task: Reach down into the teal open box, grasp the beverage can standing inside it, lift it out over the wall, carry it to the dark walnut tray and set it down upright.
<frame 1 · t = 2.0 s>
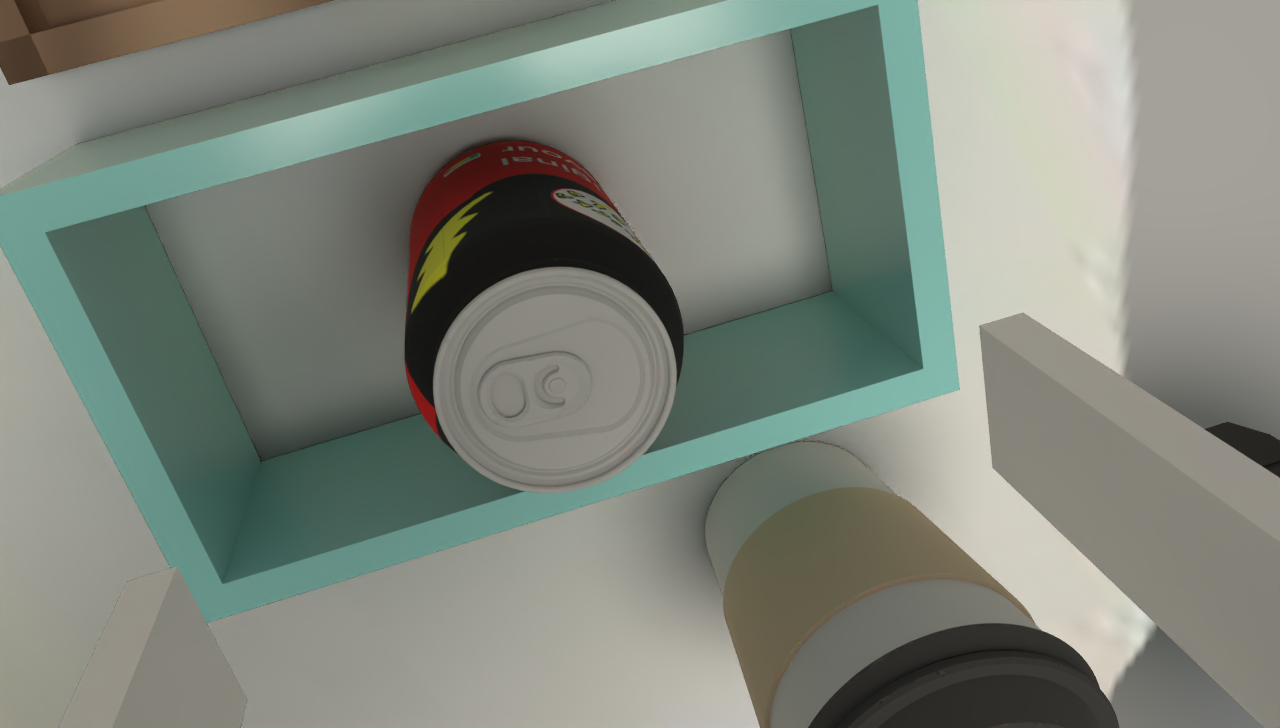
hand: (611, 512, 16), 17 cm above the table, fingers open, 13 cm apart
beverage can: (511, 233, 32), resting in teal open box
coffee cup: (791, 518, 38), on the table
teal open box: (512, 235, 32), on the table
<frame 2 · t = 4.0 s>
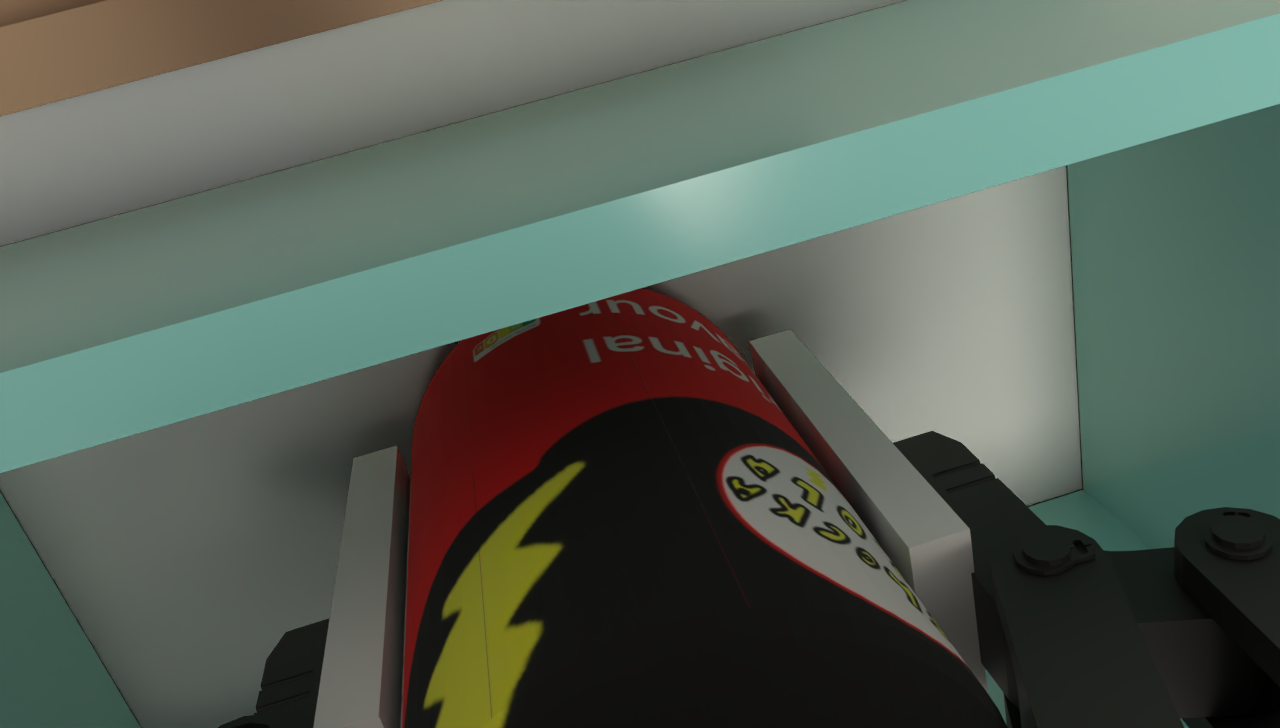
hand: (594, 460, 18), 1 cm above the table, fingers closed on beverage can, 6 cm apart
beverage can: (582, 419, 19), resting in teal open box, touching gripper
teal open box: (584, 425, 19), on the table
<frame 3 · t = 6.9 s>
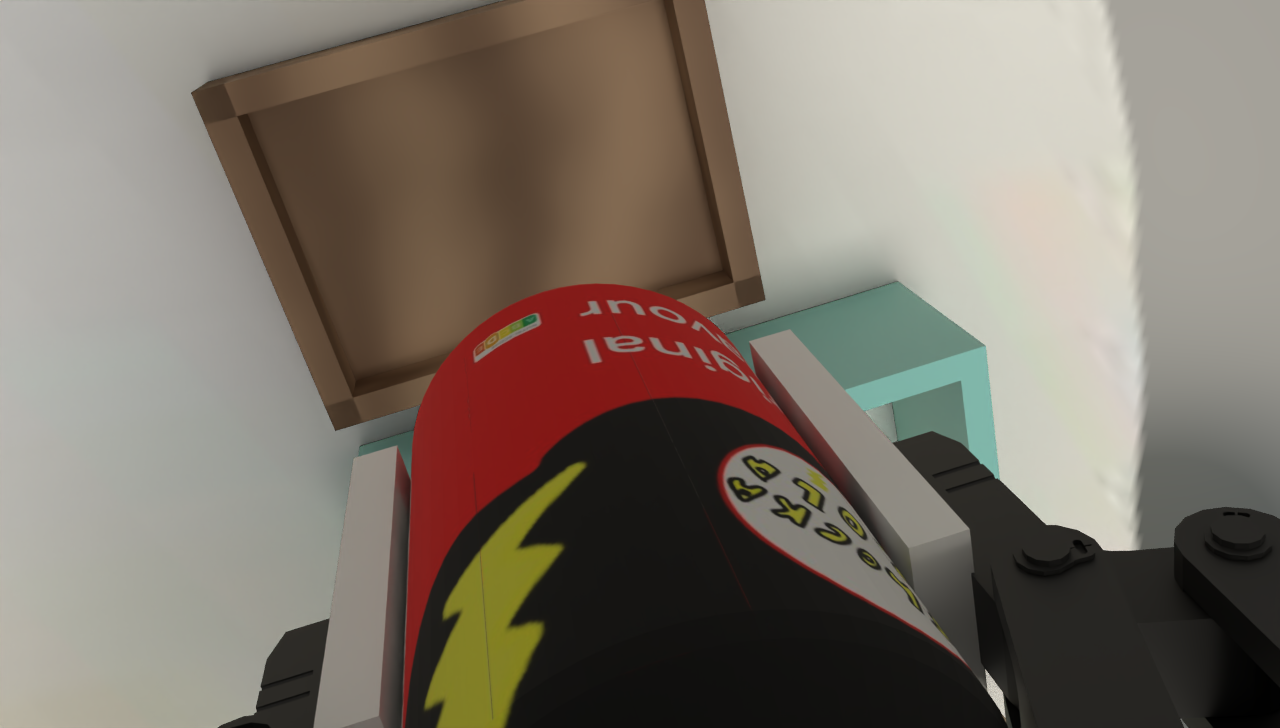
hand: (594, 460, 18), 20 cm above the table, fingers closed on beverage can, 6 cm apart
tray: (500, 188, 36), on the table
beverage can: (582, 419, 19), point 19 cm above the table, touching gripper
teal open box: (669, 489, 42), on the table
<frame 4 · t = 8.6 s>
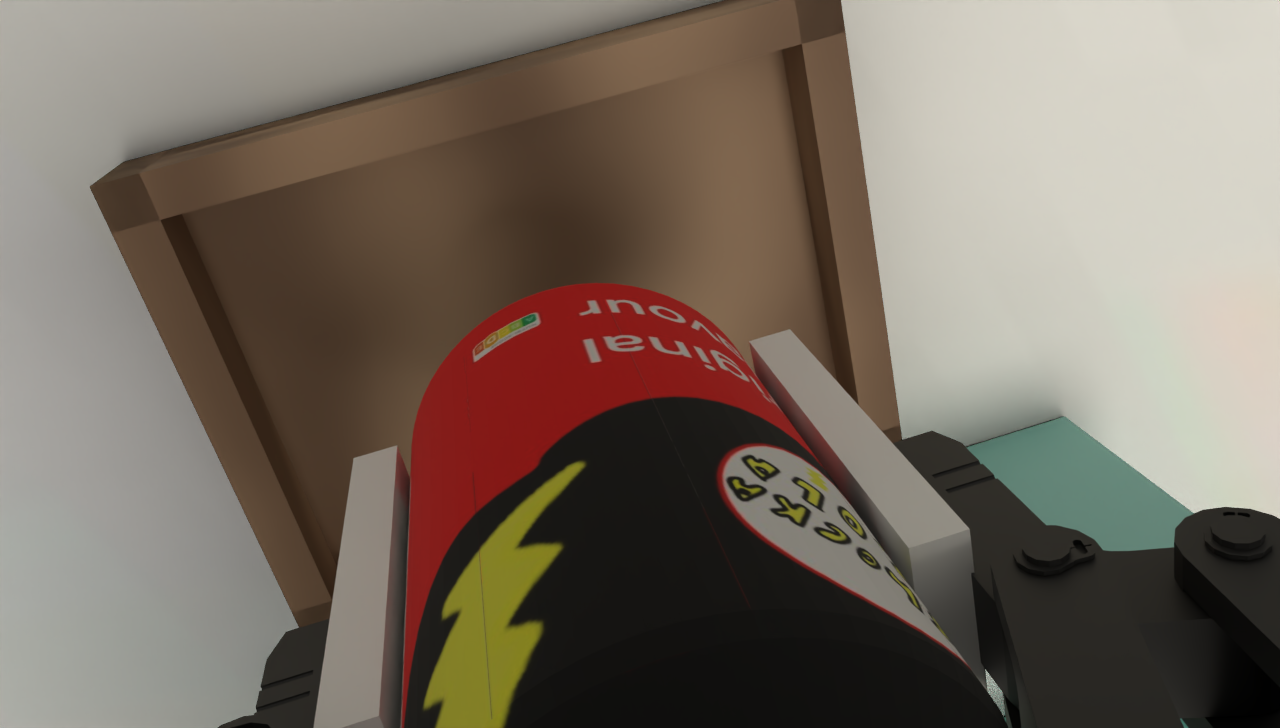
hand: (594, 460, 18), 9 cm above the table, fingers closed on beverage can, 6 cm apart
tray: (540, 305, 26), on the table
beverage can: (582, 419, 19), point 7 cm above the table, touching gripper
teal open box: (751, 681, 32), on the table
when the fingers open (4 cm above the table, at t = 9.8 s): beverage can drops 1 cm, resting on tray.
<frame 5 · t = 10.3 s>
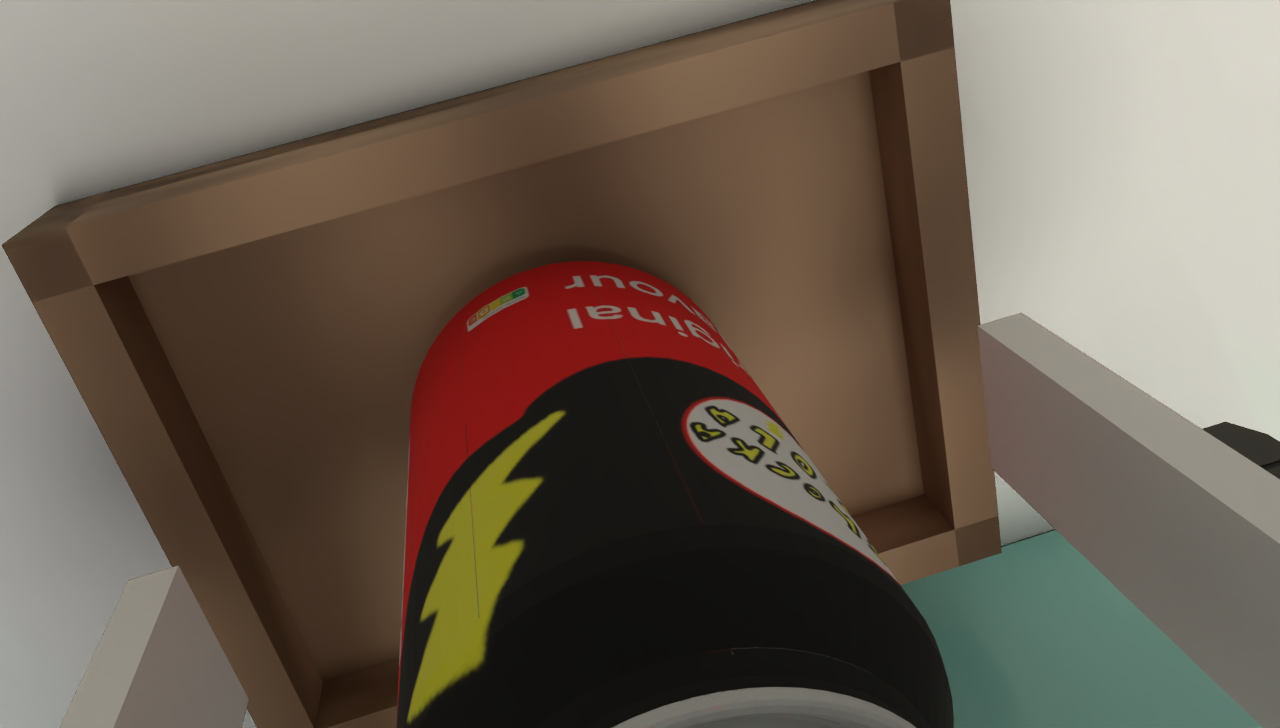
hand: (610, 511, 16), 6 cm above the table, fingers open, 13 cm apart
tray: (567, 372, 21), on the table
beverage can: (570, 390, 21), point 1 cm above the table, touching tray
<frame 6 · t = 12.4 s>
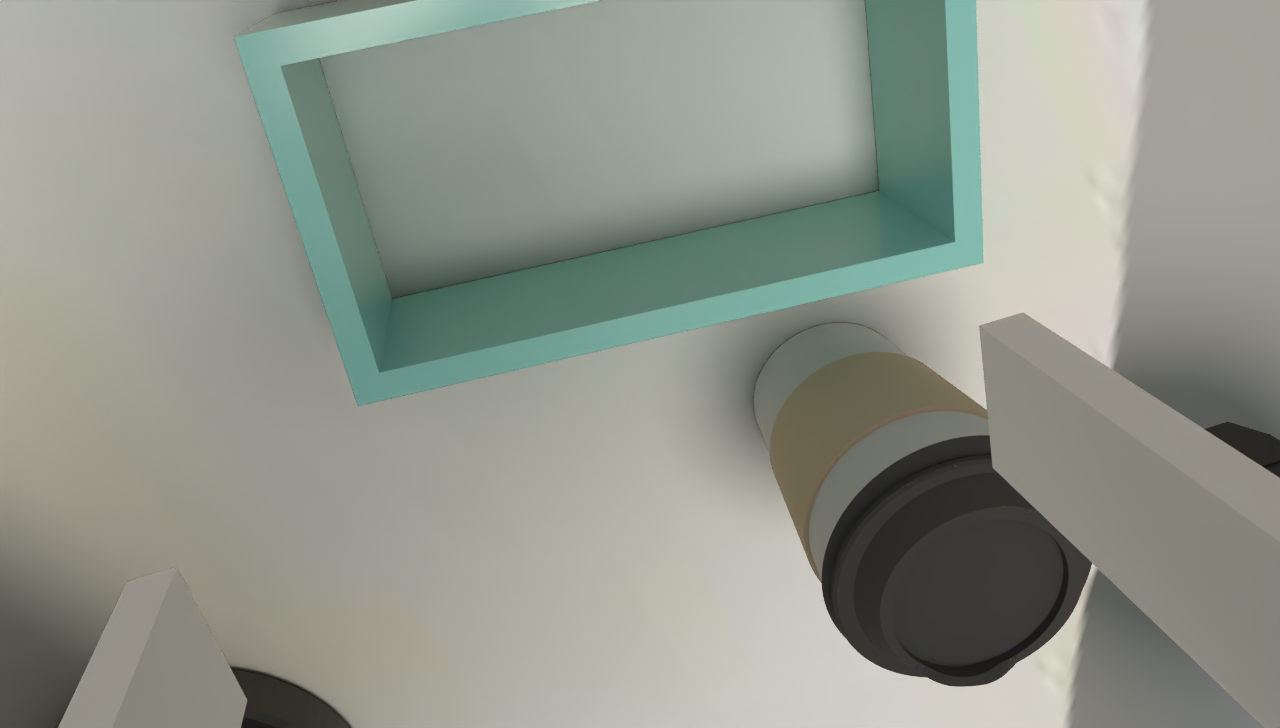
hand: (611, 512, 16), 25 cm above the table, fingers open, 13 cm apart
coffee cup: (827, 391, 45), on the table
teal open box: (617, 119, 38), on the table
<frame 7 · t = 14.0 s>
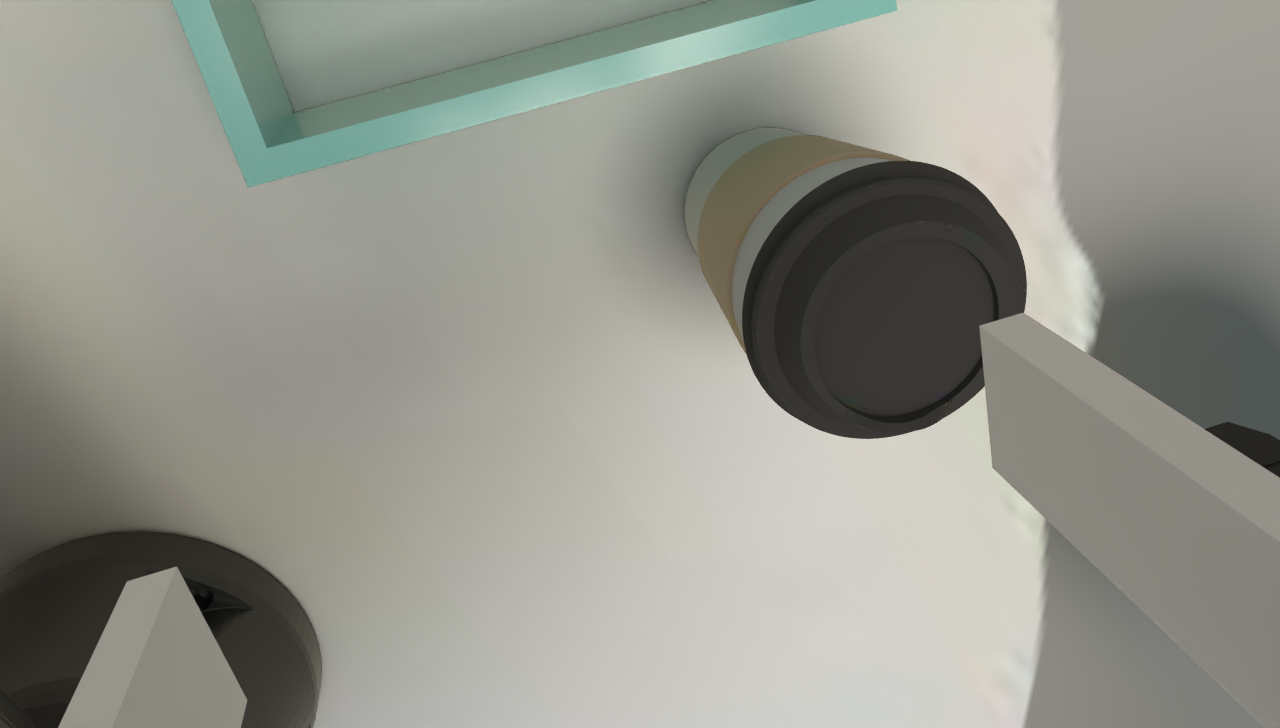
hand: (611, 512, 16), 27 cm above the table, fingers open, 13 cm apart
coffee cup: (761, 205, 43), on the table
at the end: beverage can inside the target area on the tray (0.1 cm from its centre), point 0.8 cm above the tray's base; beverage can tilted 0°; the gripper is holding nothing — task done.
